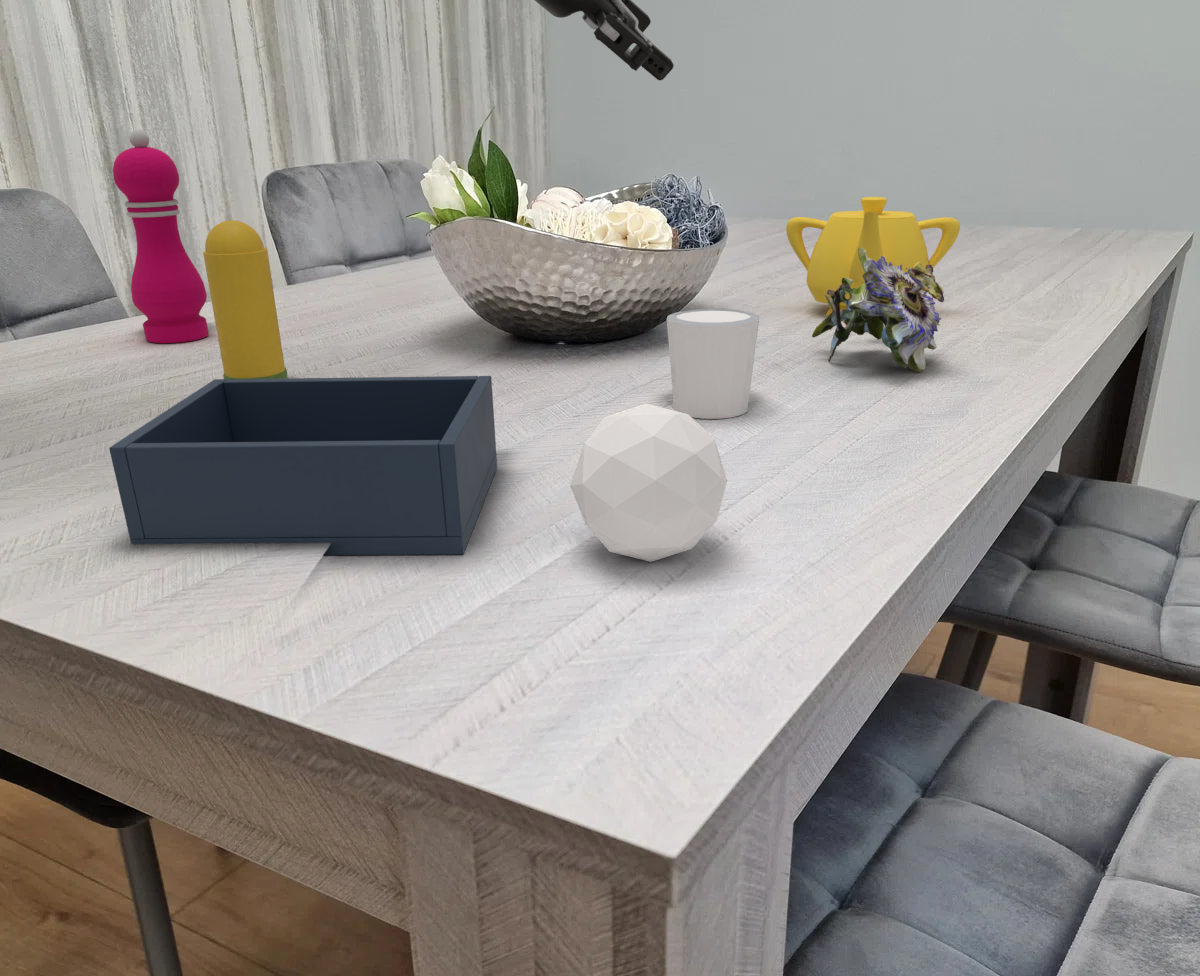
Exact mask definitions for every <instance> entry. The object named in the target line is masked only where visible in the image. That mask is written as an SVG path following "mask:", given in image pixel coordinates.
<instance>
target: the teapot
mask: <svg viewBox="0 0 1200 976" xmlns="http://www.w3.org/2000/svg"><path fill="white" fill-rule="evenodd" d="M887 201H888V198H887V197H884V196H865V197H861V198H860V204H861V207H862V210H847V211H846V210H845V211H844V210H843V211H835V212H833V213H832V214H831V215H829V218H828V220H822V219H817V218H813V217H807V216H796V217H792V218H790V219H789V220H788V221H787V223H786V227H785V229H786V235H787V239H788V242H789V244H790V247H791V248H792V250H793V251H794V253H795V255H796V256H797V258H798V259H799V261H800V263H801V264H802V265H803V267H804V268H805V271H806V273H807V274H806V284H807V287H808V289H809V292H810V293H811V295H812V297H813V298H814V300H815V301H816V302H818V303H822V304H825V305H826V304H827V308H829V309H828V310H827V312H826V314H825V318H827V317H828V316H829V315H830V314H831V313H832V311H833V310H832V308H831V307H830V305H829V304H828V301H827V299H826V297H825V295H826V292H827V290H829V289H830V290H834V291H836V290H837V289H838V288H840V285H842V278H844V277H846V278H847V279H852V280H854V281H853V283H852V284H851V286H850V287H851V289H853V288H855V289H857V288H859V287H860V286H861V285H862V284H863V283H864V282H865V280H864V279H863V274H865V272H864V270H863V268H862V265H861V262H860V259H859V255H858V248H859V247H860V248H863V249H865V251H866V252H867V256H868V258H869V259H873V260H874V261H875V262H877V261H878V260H879V259H881V256H883V257H885V260H886V262H887V264H888V265H889V262H891V263H892V265H893V267H896V266H897V265H898V266H899V268H900V265H902V271H903V274H904V273H905V272H907V273H908V268H912V266H913V265H914V264H915V263H917V262H921V264H922V268H924V269H925V268H926V265H932V267H933V269H934V268H935V267H936V266H937V265H938V263H940V262H941V260H942V259H943V258H944V257H945V256H946V255H947V253H948V252H949V251H950V249H951V248H952V247H953V246H954V244H955V242H956V241H957V238H958V236H959V233H960V230H961V224H960V221H959V220H958V219H956V218H954V217H948V216H947V217H946V216H945V217H934V218H929V219H925V220H921V221H918V220H917V218H916V217H917V216H916V215H915V214H914V213H913V212H910V211H901V210H885V206H886V205H887ZM805 228H813V229H819V230H821V232H820V234H819V236H818V238H817V240H816V242H815V244H814V247H813V250H812V252H811V255H810V257H809V254H808V252H807V250H806V247H805V243H804V238H803V230H804V229H805ZM935 228H936V229H940V230H941V237H940V240H939V242H938V245H937V247H936V248H935V250H934V252H933V253H932V255H931V257H930V258H929V253H928V249H927V245H926V241H925V238H924V234H923V232H922V230H927V229H935ZM906 268H907V269H906ZM922 292H925V291H923V290H922ZM827 295H828V296H829V298H830V301H831V302H832V299H831V297H830V295H829V294H827ZM845 298H846V299H849V298H850V295H849V293H846V294H845ZM843 309H847V306H846V304H845V303H843V302H841V303H840V310H843Z"/></svg>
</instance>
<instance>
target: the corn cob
mask: <svg viewBox="0 0 1200 976" xmlns="http://www.w3.org/2000/svg"><path fill="white" fill-rule="evenodd" d="M204 249H205V250H204V251H203V252H202V254H203V256H202V257H203V260H204V266H205V267H204V268H205V272H206V278H207V284H208V289H209V295H210V300H211V307H212V312H213V318H214V322H215V329H216V334H217V341H218V347H219V352H220V358H221V362H222V369H223V374H222V377H223V379H283V378H289V377H288V376H289V375H288V370H287V368H286V366H285V365H286V364H285V359H284V352H283V345H282V340H281V338H282V337H281V332H280V326H279V325H280V324H279V319H278V318H279V317H278V312H277V307H276V306H277V305H276V298H275V293H274V285H273V279H272V273H271V266H270V265H271V264H270V261H269V260H270V259H269V254H268V253H269V252H268V248H267V247H265V246H264V242H263V240H262V238H261V236H260V234H259V233H258V232H257V230H255V228H253V227H252V226H250V224H247V223H246V222H243V221H239V220H234V219H233V220H232V219H229V220H224V221H221V222H219V223H217V224H215V225H214V227H212V228H211V229H210V231H209V232H208V233H207V236H206V239H205V244H204Z"/></svg>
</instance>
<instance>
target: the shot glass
mask: <svg viewBox="0 0 1200 976" xmlns="http://www.w3.org/2000/svg"><path fill="white" fill-rule="evenodd" d="M759 324H760V315H758V314H757V313H754V312H750V311H745V310H738V309H728V308H702V309H701V308H700V309H690V310H683V311H677V312H673V313H671V314H668V315H667V317H666V325H667V326H666V329H667V340H668V341H667V342H668V352H669V353H668V354H669V365H670V376H671V377H670V378H671V390H672V400H673V401H672V402H673V410H674V411H678V412H682V413H686V414H689V415H690V416H691V417H692V418H693V419H694V418H696V419H701V420H702V419H703V420H706V419H707V420H720V419H729V418H734V417H739V416H742V415H744V414H745V413H748V409H749V400H750V392H751V385H752V378H753V369H754V363H755V354H756V348H757V339H758V331H759Z"/></svg>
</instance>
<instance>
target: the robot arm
mask: <svg viewBox="0 0 1200 976" xmlns="http://www.w3.org/2000/svg"><path fill="white" fill-rule="evenodd" d="M534 1H535V2H536V3H537V4H538V5H540V6H541V7H542V8H543V9H544V10H546V11H547V12H548V13H550V15H552V16H553V17H554V18H555V17H556V18H559V19H564V18H567V17H570V16H571V15H573V14H575V13H579V12H582V13H583V15H582V16H581V18H582V19H583V21H584V22H585V24H587V26H589V28H590V29H592V30H594V31H593V34H594V36H595V37H594V38H595V39H596V40H597V41H600V42H601V44H603V45H604V46H605V47H607V49H609V50H610V51H611V52H613V53H614V54H615V55H616V56H617V57H618V58H619V59H620V60H622V61H623V62H624V63H625V64H627V65H628V66H629V68H630V69H631V70H633V71H635V72H637V71H638V70H639V69H640V67H642V69H644V70H645V71H646V72H647V73H649V74H650V75H651V76H652V77H654V78H655V79H656V80H657V81H663V80H664V79H665V78H666V77H667V76H668V75H669V74H670V73H671V71H672V70H673V69H674V66H675V65H674V63H673V61H672V59H671V58H670V57H669V56H667V54H665V52H663V51H662V50H661V49H660V48H658V47H657V46H656V45H655V44H654V43H653V42H652V41H651V39H650V38H649V37H647V36H646V35H645V34H644V32H645V31H646V30H647V28H648V27H650V25H651V23H652V21H651V18H650V16H649V15H648V14H647V13H646V12H645V11H644V10H642V8H640V6H638V5H637V4H636V3H635V2H633V0H534ZM633 44H635V46H634V47H633V48H632V49H630V47H632V45H633Z"/></svg>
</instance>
